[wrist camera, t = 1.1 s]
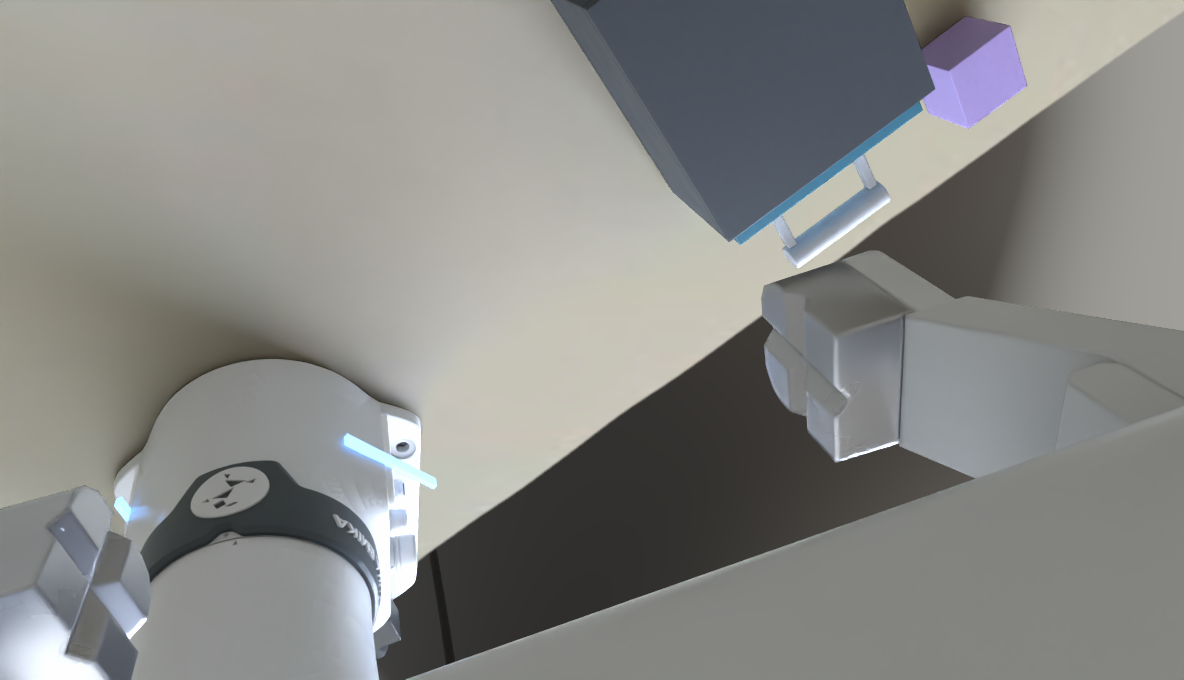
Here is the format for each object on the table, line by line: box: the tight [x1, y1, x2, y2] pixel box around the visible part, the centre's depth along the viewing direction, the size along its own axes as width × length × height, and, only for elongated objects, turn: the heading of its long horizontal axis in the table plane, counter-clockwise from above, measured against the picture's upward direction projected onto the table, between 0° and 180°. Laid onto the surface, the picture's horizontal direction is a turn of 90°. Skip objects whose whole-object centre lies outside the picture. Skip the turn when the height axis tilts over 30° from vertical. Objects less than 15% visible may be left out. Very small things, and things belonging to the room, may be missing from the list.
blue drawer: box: [734, 102, 923, 268], centre depth 45 cm, size 19×12×7 cm, turn 34°
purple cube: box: [921, 16, 1027, 129], centre depth 50 cm, size 4×4×4 cm
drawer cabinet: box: [551, 0, 935, 242], centre depth 43 cm, size 15×14×9 cm
